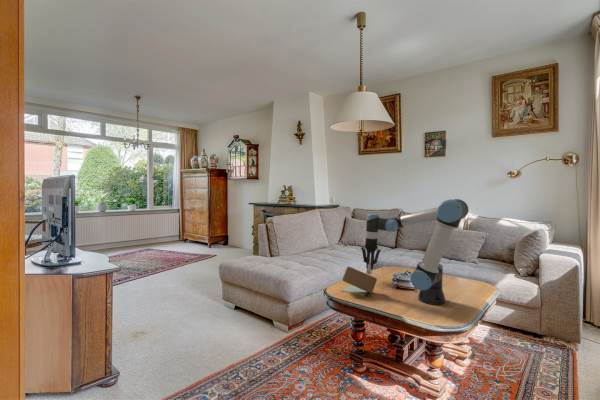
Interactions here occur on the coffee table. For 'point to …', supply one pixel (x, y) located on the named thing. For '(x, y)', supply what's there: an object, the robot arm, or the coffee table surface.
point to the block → (359, 279)
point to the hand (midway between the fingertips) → (369, 273)
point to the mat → (354, 290)
